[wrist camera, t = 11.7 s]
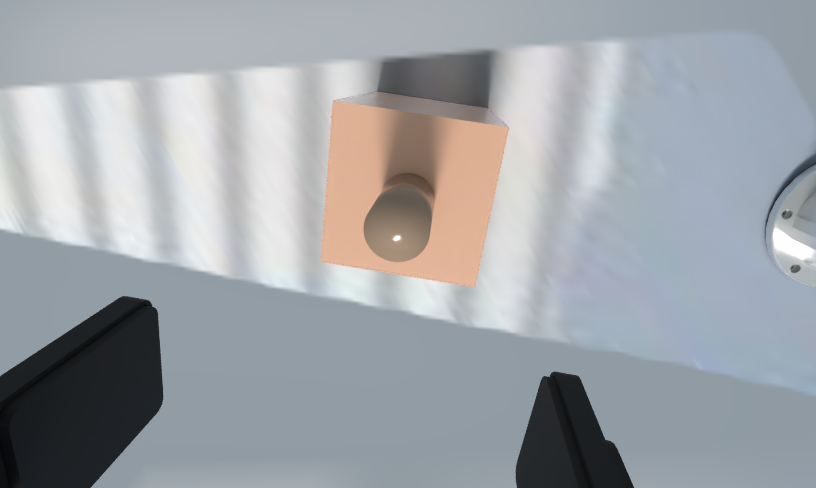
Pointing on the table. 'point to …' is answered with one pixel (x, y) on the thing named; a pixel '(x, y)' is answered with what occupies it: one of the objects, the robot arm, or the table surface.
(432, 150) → the cover
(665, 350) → the table surface
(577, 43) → the table surface
